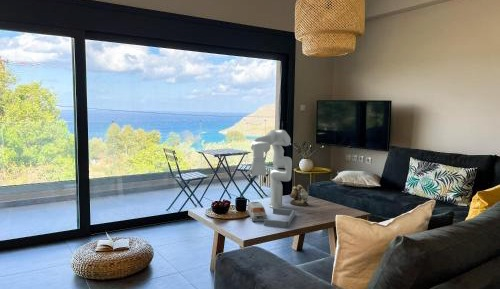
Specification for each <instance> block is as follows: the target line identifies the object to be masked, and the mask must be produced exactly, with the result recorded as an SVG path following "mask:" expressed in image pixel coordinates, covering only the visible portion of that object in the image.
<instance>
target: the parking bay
mask: <svg viewBox="0 0 500 289" xmlns="http://www.w3.org/2000/svg"><path fill="white" fill-rule="evenodd" d="M272 214H274V215H285V216H287V215H288V217H287V219H286V220H279V219H277V220H276V219H268V218H267V219H264V221H263V226H266V227H267V226H269V227H276V228H279V227H280V228H285V229H286V228H287V229H288V228H290V225H291V223H292V221H293V219H294V217H295V216H296V210H295V209H286V208H272Z"/></svg>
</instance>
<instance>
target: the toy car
mask: <svg viewBox="0 0 500 289" xmlns="http://www.w3.org/2000/svg"><path fill="white" fill-rule="evenodd" d="M247 213H248V216H249V217H251V222H252V223H255V222H264V219H268V215H267V212H266V210H265V207H264V205H263V204H262V203H261V202H260V201H249V202H248V203H247Z"/></svg>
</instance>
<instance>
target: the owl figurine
mask: <svg viewBox="0 0 500 289" xmlns="http://www.w3.org/2000/svg"><path fill="white" fill-rule="evenodd" d="M291 189H292V191H291V193H290V194H289V195H288V196H289V197H290V198H291V200H290V202H289V204H290V205H291V206H296V207H308V206H309V203H308V201H309V200H308V198H309V193H308V192H307V191H306V189H305V188H304V187H303V186H302V185H301V184H298V185H297V186H292V188H291Z"/></svg>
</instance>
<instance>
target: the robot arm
mask: <svg viewBox="0 0 500 289" xmlns="http://www.w3.org/2000/svg"><path fill="white" fill-rule="evenodd" d="M291 140H292V139H291V137H290V135H289V134H288V132H287V131H286V130H285V129H271V130H270V131H269V132H267V133H266V135H263V136H262V135H261V136H260V137H256V138H254V140H253V141H252V142H251V144H250V148H251V150H252V151H253V153H252V154H253V158H252V161H251V166H250V169H249V170H247V171H246V175H247V176H248V177H249V182H250V184H252V185H253V180H254V179H253V177H255V176H263V183H264V184H266V183H267V178H268V176H270V177H269V178H270V189H271V190H270V204H268V207H269V208H271V209H273V208H278V209H284V207H285V205H284V204H283V190H284V188H283V184H282V182H290V181H291V179H292V170H293V160H292V158H291V157H289V156H284V153H285V150H284V148H283V147H287V146H290V145H291ZM271 146H272V149H273V156H272V158H273V159H272V166H273V167H274V168H273V169H272V170H268V169H266V162H265V160H266V157H264V156H265V154H264V153H268V152H270V150H271Z"/></svg>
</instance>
